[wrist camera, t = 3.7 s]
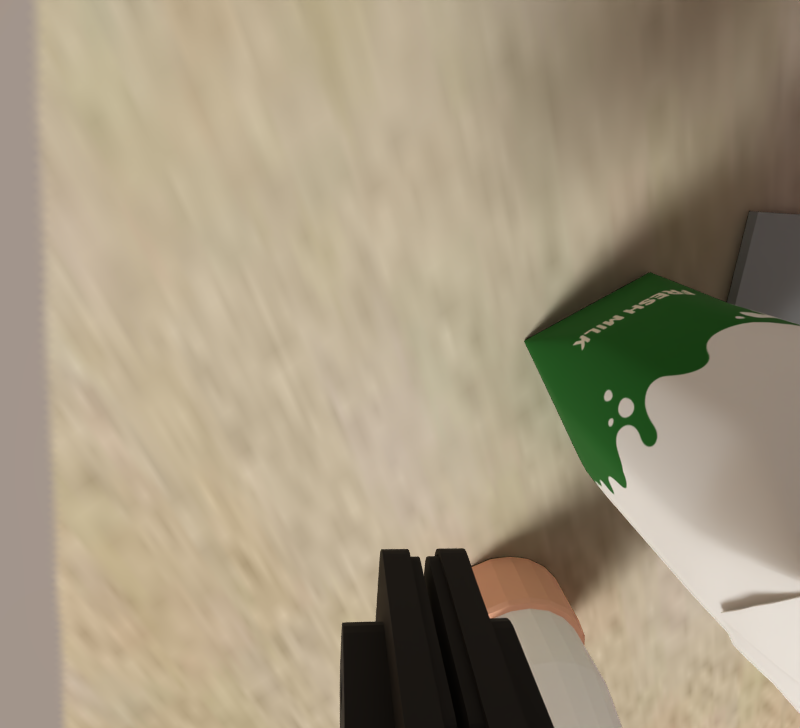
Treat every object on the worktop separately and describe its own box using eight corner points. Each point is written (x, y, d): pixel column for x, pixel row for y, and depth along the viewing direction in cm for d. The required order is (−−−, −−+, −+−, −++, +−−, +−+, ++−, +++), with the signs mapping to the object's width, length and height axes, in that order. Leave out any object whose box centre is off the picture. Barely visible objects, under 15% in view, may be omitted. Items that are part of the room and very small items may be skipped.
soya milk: (660, 245, 26) (1477, 397, 8) (714, 396, 29) (1400, 779, 10) (498, 334, 27) (884, 686, 8) (567, 474, 30) (970, 974, 11)
